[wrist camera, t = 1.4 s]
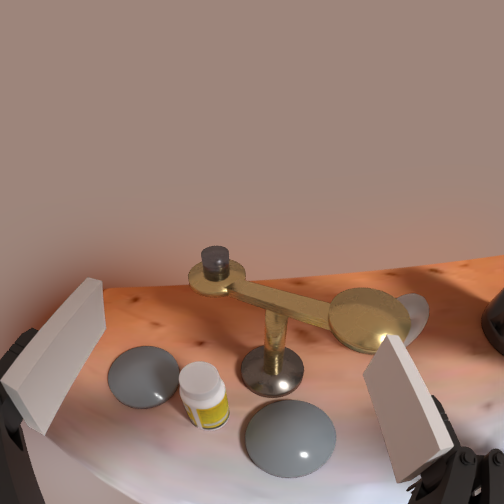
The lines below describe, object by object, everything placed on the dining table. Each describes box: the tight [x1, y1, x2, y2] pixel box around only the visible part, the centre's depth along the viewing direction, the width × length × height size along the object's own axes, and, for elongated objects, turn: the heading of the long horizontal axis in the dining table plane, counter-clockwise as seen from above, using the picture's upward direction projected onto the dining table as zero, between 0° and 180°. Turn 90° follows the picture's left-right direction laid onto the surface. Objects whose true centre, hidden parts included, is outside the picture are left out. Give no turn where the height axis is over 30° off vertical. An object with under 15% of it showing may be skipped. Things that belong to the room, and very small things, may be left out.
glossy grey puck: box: [245, 400, 336, 478], centre depth 27 cm, size 10×10×1 cm
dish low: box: [108, 346, 180, 409], centre depth 34 cm, size 10×10×1 cm
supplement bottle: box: [179, 361, 229, 431], centre depth 28 cm, size 5×5×8 cm
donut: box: [396, 293, 429, 347], centre depth 35 cm, size 10×4×10 cm, turn 104°
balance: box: [188, 246, 411, 398], centre depth 31 cm, size 8×26×16 cm, turn 46°
